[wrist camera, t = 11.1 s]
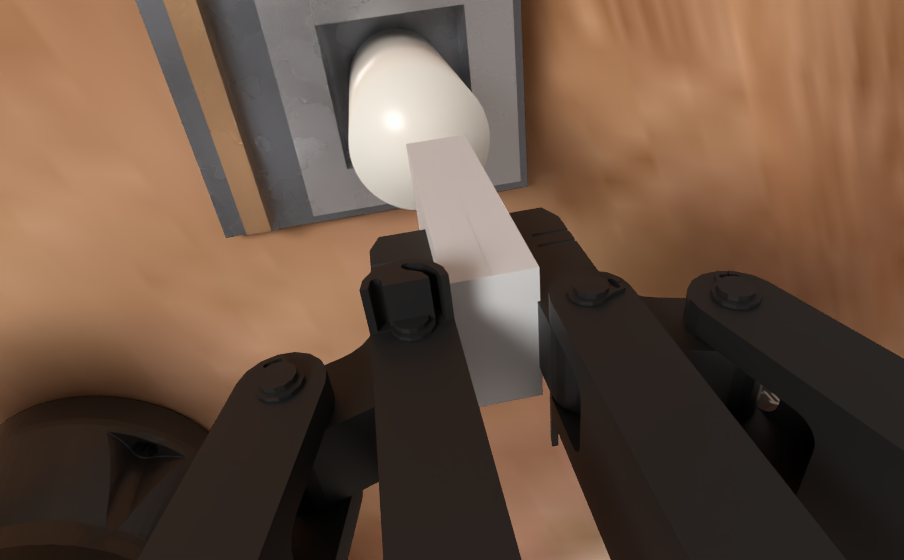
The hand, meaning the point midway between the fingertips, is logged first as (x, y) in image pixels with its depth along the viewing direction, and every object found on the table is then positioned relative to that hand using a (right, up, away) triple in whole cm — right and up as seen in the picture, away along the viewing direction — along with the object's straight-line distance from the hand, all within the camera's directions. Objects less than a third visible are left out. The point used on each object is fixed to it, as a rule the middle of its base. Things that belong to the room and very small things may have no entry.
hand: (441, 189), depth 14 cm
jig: (-4, +7, +12) cm, 14 cm away
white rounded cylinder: (-2, +7, +11) cm, 13 cm away
